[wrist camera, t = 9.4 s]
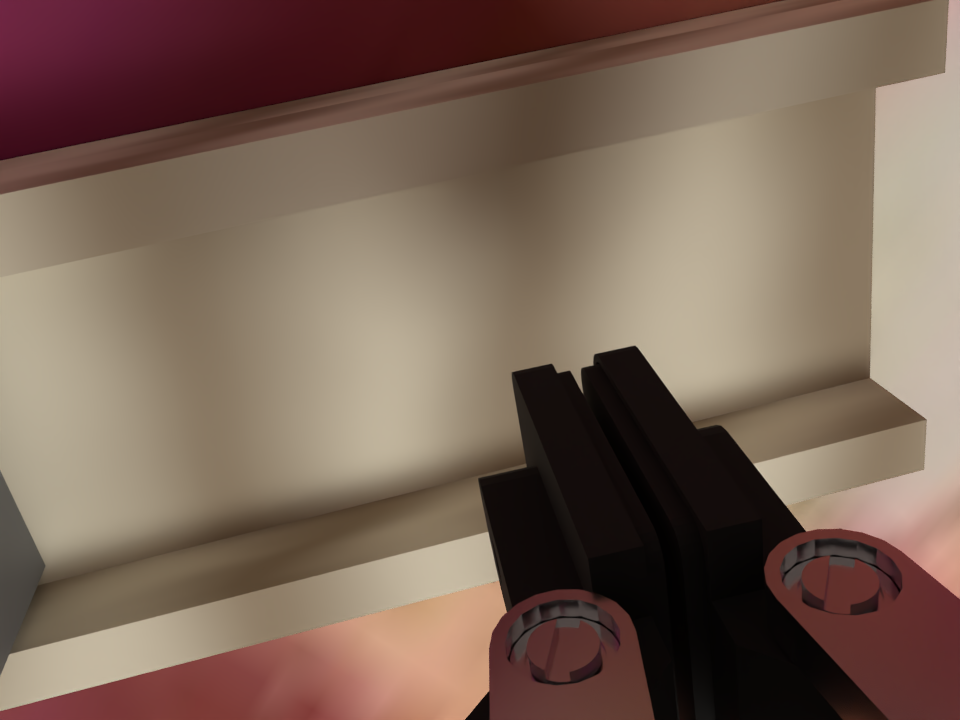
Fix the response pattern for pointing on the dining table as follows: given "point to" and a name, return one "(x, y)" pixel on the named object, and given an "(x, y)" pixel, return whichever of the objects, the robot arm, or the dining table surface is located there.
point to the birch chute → (426, 317)
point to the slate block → (15, 570)
